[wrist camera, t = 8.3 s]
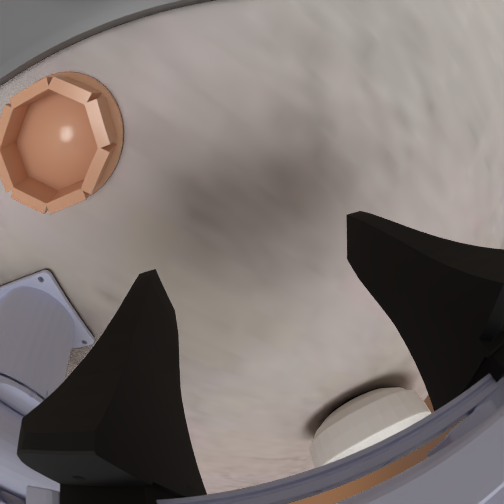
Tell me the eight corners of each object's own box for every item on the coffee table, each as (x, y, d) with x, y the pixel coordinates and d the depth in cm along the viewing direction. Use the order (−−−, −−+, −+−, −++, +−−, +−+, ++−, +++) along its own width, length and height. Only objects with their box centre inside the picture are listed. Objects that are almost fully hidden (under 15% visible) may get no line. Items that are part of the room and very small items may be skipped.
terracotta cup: (34, 218, 16) (20, 236, 14) (-6, 109, 12) (-26, 115, 10) (140, 177, 17) (135, 190, 15) (104, 50, 13) (93, 45, 10)
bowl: (278, 424, 39) (294, 473, 32) (396, 352, 36) (427, 399, 29) (326, 442, 49) (341, 476, 42) (413, 389, 46) (434, 422, 39)
